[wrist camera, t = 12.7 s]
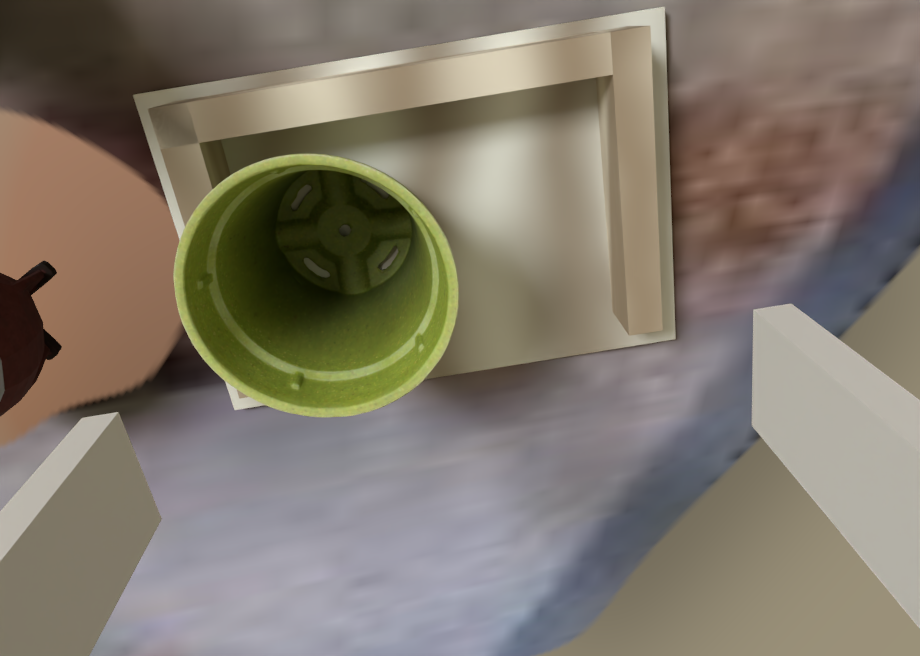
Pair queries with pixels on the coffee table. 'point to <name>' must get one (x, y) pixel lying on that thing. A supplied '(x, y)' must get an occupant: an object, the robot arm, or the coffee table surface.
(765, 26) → the coffee table surface
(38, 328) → the mate gourd
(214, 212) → the plant pot
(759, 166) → the coffee table surface
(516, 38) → the beige rectangular tray
